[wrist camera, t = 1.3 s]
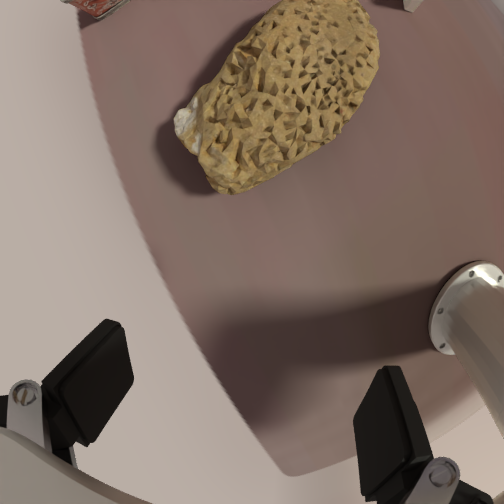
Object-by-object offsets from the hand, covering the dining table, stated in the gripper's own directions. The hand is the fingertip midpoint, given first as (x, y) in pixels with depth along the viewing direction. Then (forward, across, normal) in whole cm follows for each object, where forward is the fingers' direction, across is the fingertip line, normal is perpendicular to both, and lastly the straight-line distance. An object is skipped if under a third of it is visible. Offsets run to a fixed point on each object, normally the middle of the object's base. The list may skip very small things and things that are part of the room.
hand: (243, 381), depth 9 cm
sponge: (+19, +1, -14) cm, 24 cm away
